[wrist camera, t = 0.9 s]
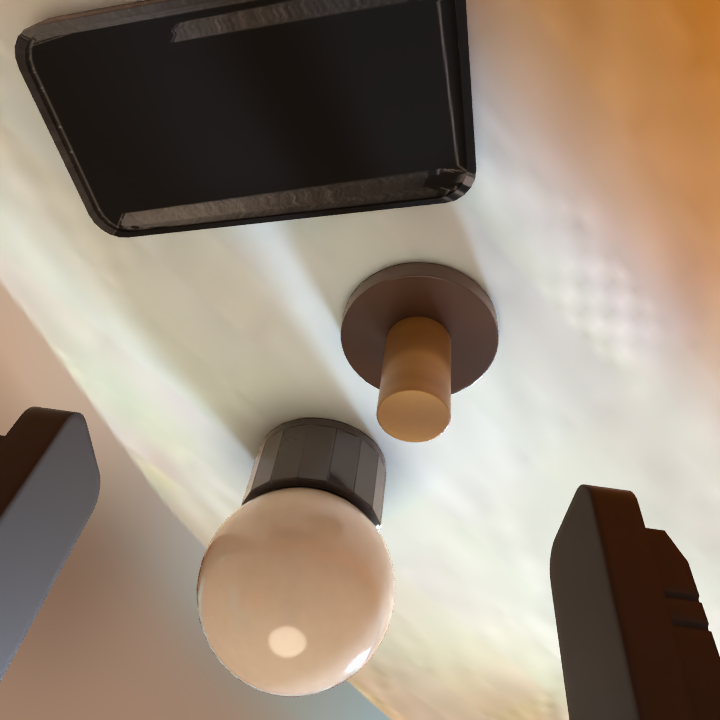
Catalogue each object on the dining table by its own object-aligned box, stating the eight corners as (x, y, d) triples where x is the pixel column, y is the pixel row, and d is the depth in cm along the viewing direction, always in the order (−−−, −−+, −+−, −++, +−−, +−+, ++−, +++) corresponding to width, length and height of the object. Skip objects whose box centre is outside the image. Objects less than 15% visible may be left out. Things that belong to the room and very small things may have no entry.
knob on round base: (348, 252, 26) (327, 336, 22) (513, 273, 26) (524, 360, 22) (339, 375, 31) (321, 464, 27) (480, 393, 31) (485, 486, 26)
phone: (477, 199, 23) (101, 240, 26) (477, 185, 24) (112, 227, 27) (461, -59, 18) (-1, 28, 21) (461, -64, 19) (17, 20, 22)
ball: (221, 435, 30) (153, 615, 23) (411, 460, 30) (399, 651, 23) (232, 544, 36) (180, 714, 29) (391, 566, 36) (376, 744, 29)
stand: (257, 409, 33) (237, 469, 30) (392, 427, 33) (386, 489, 30) (261, 494, 38) (244, 553, 35) (380, 510, 37) (373, 571, 34)
